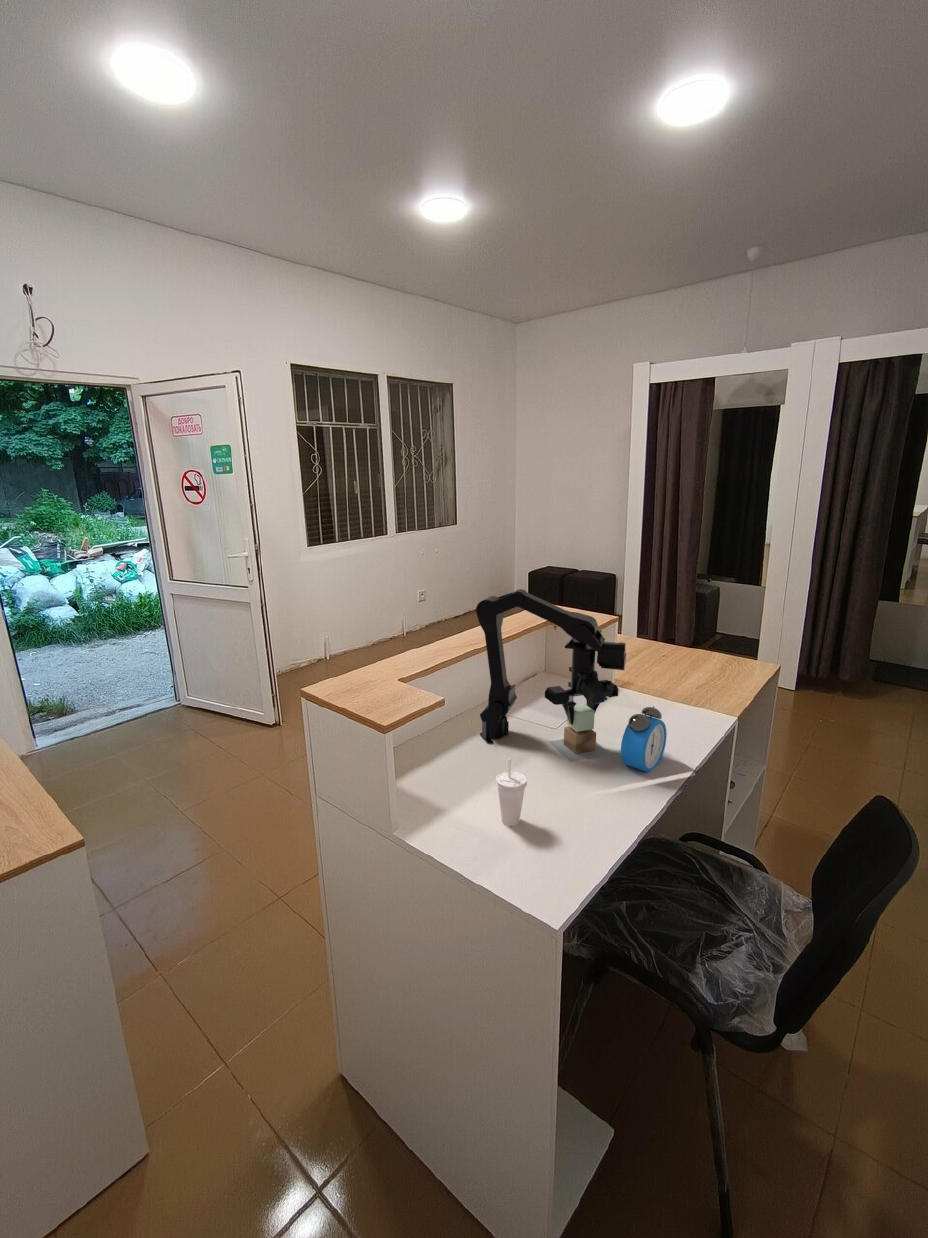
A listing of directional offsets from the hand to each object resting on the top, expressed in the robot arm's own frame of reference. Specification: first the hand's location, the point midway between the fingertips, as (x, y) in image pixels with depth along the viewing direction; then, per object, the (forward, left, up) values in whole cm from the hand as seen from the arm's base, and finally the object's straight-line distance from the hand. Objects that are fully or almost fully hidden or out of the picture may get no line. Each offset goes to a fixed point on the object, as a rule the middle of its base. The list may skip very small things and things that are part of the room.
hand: (580, 722), depth 147 cm
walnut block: (0, 0, -7) cm, 7 cm away
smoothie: (-30, -23, -8) cm, 39 cm away
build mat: (0, 0, -8) cm, 8 cm away
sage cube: (0, 0, -1) cm, 1 cm away
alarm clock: (+10, -13, -8) cm, 18 cm away
